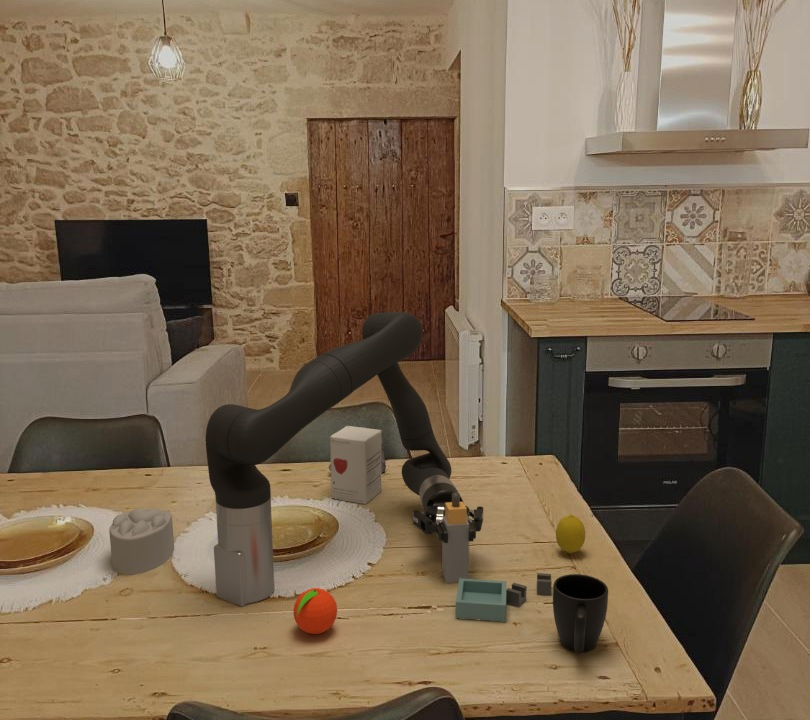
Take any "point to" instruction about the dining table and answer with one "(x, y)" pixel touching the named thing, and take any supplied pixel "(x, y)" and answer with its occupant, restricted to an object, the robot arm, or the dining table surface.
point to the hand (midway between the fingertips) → (458, 537)
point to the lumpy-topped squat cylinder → (141, 540)
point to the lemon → (570, 534)
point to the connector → (455, 541)
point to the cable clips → (519, 591)
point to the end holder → (481, 599)
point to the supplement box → (355, 464)
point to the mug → (579, 610)
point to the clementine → (315, 611)
